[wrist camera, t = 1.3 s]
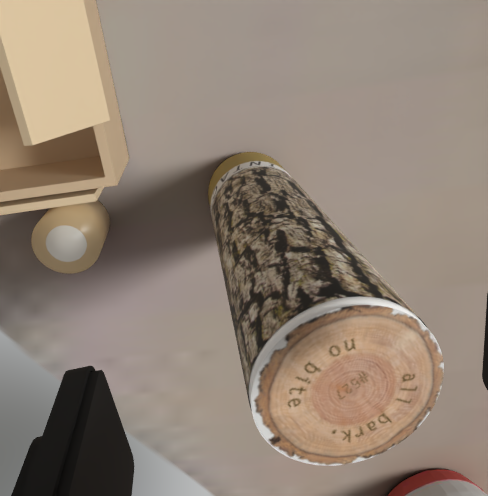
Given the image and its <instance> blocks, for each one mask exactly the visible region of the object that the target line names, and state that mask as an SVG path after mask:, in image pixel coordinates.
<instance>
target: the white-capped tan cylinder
mask: <svg viewBox="0 0 488 496" xmlns="http://www.w3.org/2000/svg"><path fill="white" fill-rule="evenodd" d="M109 228H110V219H109V215H108V212H107V210H106V209H105V207H104V206H103V205H102V203H100V202H99V201H98V200H97V201H95V202H88V203H81V204H74V205H67V206H60V207H53V208H49V210H48V211H47V212H46V213H45V215H44V216H43V217H42V218H41V219H40V221H39V222H38V223H37V224H36V226H35V228H34V229H33V232H32V237H31V243H32V248H33V251H34V253H35V255H36V257H37V258H38V259H39V260H40V262H41V263H42V264H44V265H45V266H46V267H48V268H50V269H52V270H54V271H56V272H60V273H66V274H73V273H79V272H82V271H84V270H86V269H88V268H89V267H91V266H92V265H93V264H94V263H95V262H96V260H97V259H98V257H99V255H100V252H101V250H102V247H103V244H104V242H105V239H106V237H107V234H108V231H109Z"/></svg>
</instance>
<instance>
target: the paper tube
mask: <svg viewBox="0 0 488 496" xmlns="http://www.w3.org/2000/svg"><path fill="white" fill-rule="evenodd" d="M208 199H209V205H210V210H211V216H212V221H213V226H214V231H215V236H216V241H217V246H218V251H219V256H220V261H221V266H222V271H223V275H224V280H225V285H226V290H227V295H228V300H229V305H230V310H231V315H232V320H233V325H234V330H235V335H236V340H237V345H238V350H239V354H240V359H241V364H242V369H243V374H244V379H245V384H246V389H247V394H248V399H249V403H250V408H251V411H252V414H253V418H254V421H255V424H256V426H257V428H258V430H259V432H260V433H261V435H262V436H263V437H264V439H265V440H266V441H267V442H268V443H269V444H270V445H271V446H272V447H273V448H274V449H276V450H277V451H278V452H280V453H282V454H283V455H285V456H287V457H289V458H291V459H294V460H297V461H300V462H304V463H308V464H314V465H325V466H330V465H344V464H350V463H355V462H359V461H363V460H366V459H369V458H372V457H374V456H377V455H379V454H381V453H383V452H385V451H387V450H389V449H391V448H392V447H394V446H396V445H397V444H399V443H400V442H401V441H403V440H404V439H406V438H407V437H408V436H409V435H410V434H412V433H413V432H414V431H415V430H416V429H417V428H418V427H419V426H420V425H421V423H422V422H423V421H424V420H425V419H426V417H427V416H428V414H429V413H430V412H431V410H432V408H433V406H434V405H435V403H436V400H437V398H438V396H439V393H440V390H441V387H442V382H443V375H444V364H443V357H442V353H441V350H440V347H439V345H438V343H437V341H436V339H435V337H434V336H433V334H432V333H431V332H430V331H429V329H428V328H427V327H426V325H425V324H424V323H423V322H422V320H421V319H420V318H419V317H418V316H417V315H416V314H415V313H414V311H413V310H412V309H411V308H410V307H409V306H408V305H407V304H406V303H405V302H404V300H403V299H402V298H401V297H400V296H399V295H398V294H397V293H396V292H395V291H394V289H393V288H392V287H391V286H390V285H389V284H388V283H387V282H386V281H385V280H384V278H383V277H382V276H381V275H380V274H379V273H378V272H377V271H376V270H375V268H374V267H373V266H372V265H371V264H370V263H369V262H368V261H367V260H366V259H365V257H364V256H363V255H362V254H361V253H360V252H359V251H358V250H357V249H356V248H355V246H354V245H353V244H352V243H351V242H350V241H349V240H348V239H347V238H346V237H345V235H344V234H343V233H342V232H341V231H340V230H339V229H338V228H337V227H336V226H335V224H334V223H333V222H332V221H331V220H330V219H329V218H328V217H327V216H326V215H325V213H324V212H323V211H322V210H321V209H320V208H319V207H318V206H317V205H316V203H315V202H314V201H313V200H312V199H311V198H310V197H309V196H308V195H307V194H306V192H305V191H304V190H303V189H302V188H301V187H300V186H299V185H298V184H297V183H296V181H295V180H294V179H293V178H291V176H290V175H289V174H288V173H287V172H286V171H285V170H284V169H283V168H282V166H281V165H280V164H279V163H278V162H277V161H275V160H274V159H272V158H271V157H269V156H267V155H264V154H261V153H256V152H245V153H239V154H236V155H234V156H232V157H230V158H228V159H226V160H225V161H224V162H223V163H222V164H220V165H219V167H218V168H217V169H216V170H215V172H214V174H213V176H212V178H211V180H210V183H209V188H208Z"/></svg>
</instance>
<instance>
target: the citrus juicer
mask: <svg viewBox="0 0 488 496" xmlns="http://www.w3.org/2000/svg"><path fill="white" fill-rule="evenodd" d="M388 496H488V495H487V494H486V493H484V491H483V490H482V489H481V488H480V487H478V486H477V485H476V484H474V483H473V482H472V481H470V480H469V479H467V478H466V477H464V476H463V475H461V474H459V473H457V472H455V471H450V470H439V469H437V470H426V471H423V472H421V473H418V474H416V475H414V476H411V477H409V478H408V479H406V480H404V481H403V482H401V483H400V484H399V485H397V486H396V487H395V488H394V489H393V490H392V491H391V492H390V493H389V494H388Z"/></svg>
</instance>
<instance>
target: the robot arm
mask: <svg viewBox="0 0 488 496" xmlns="http://www.w3.org/2000/svg"><path fill="white" fill-rule="evenodd" d="M482 377H483V382H484V384H485V387H486V388H487V390H488V294H487V309H486V325H485V341H484V357H483V373H482ZM133 461H134V460H133V455H132V452H131V449H130V446H129V443H128V440H127V437H126V435H125V432H124V429H123V426H122V423H121V420H120V417H119V415H118V412H117V409H116V406H115V403H114V400H113V397H112V395H111V392H110V389H109V386H108V383H107V380H106V377H105V375H104V372H103V371H102V370H99V371H95V369H94V367H93V366H87V367H82V368H77V369H73V370H68V371H66V372H65V374H64V377H63V379H62V382H61V385H60V388H59V391H58V394H57V396H56V399H55V402H54V405H53V408H52V411H51V413H50V416H49V419H48V422H47V425H46V427H45V430H44V433H43V436H41V437H37V438H35V439H34V440H33V442H32V444H31V445H30V448H29V450H28V453H27V456H26V458H25V461H24V464H23V466H22V469H21V472H20V474H19V477H18V479H17V482H16V485H15V487H14V490H13V493H12V495H11V496H131V495H132V484H133V474H134V462H133Z"/></svg>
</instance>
